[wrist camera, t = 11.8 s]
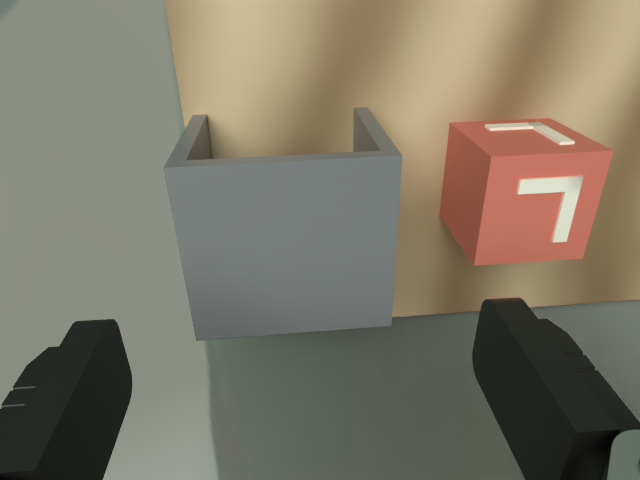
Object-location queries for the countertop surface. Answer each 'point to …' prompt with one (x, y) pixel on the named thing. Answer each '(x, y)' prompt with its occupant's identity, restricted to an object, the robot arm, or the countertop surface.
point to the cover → (287, 234)
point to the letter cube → (521, 189)
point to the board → (429, 114)
